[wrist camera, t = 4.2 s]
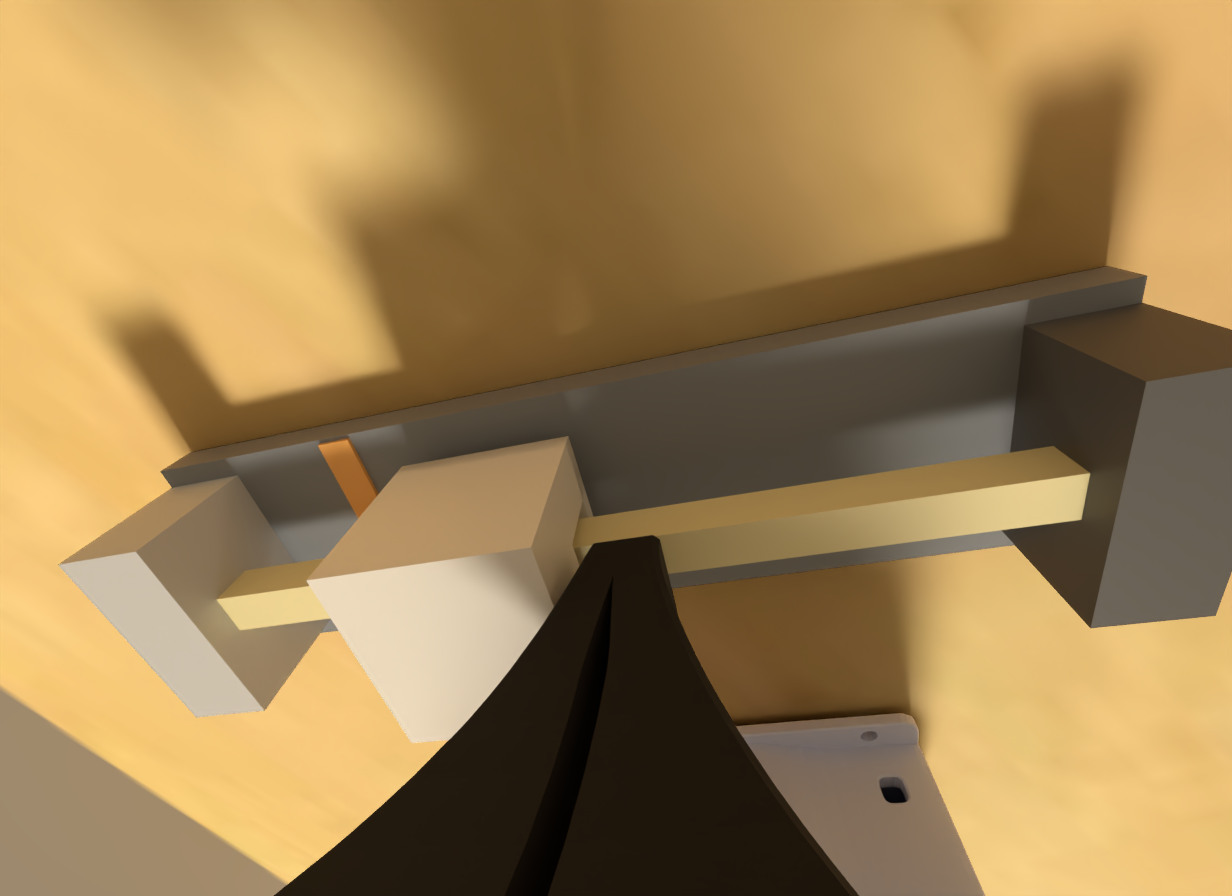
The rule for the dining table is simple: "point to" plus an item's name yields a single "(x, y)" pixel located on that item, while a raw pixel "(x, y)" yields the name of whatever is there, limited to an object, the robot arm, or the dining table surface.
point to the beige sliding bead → (454, 577)
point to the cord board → (748, 472)
